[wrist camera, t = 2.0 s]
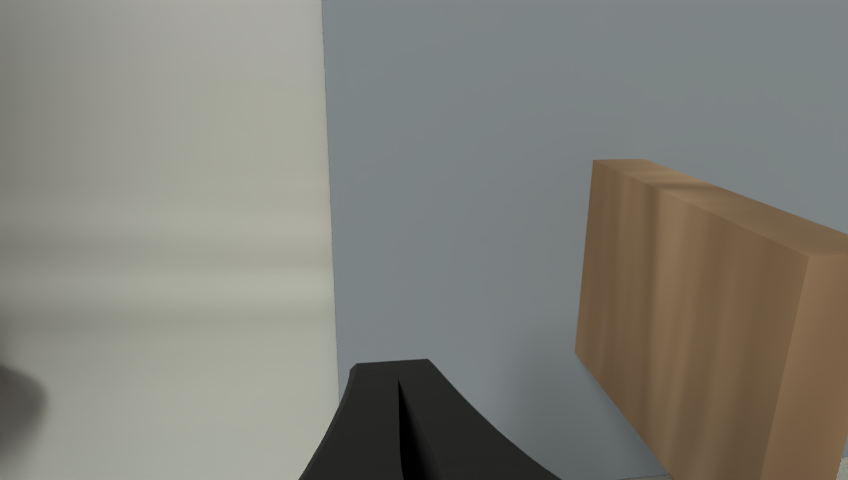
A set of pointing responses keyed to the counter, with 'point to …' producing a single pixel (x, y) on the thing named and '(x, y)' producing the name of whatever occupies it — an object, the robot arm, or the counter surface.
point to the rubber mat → (551, 177)
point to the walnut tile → (715, 325)
